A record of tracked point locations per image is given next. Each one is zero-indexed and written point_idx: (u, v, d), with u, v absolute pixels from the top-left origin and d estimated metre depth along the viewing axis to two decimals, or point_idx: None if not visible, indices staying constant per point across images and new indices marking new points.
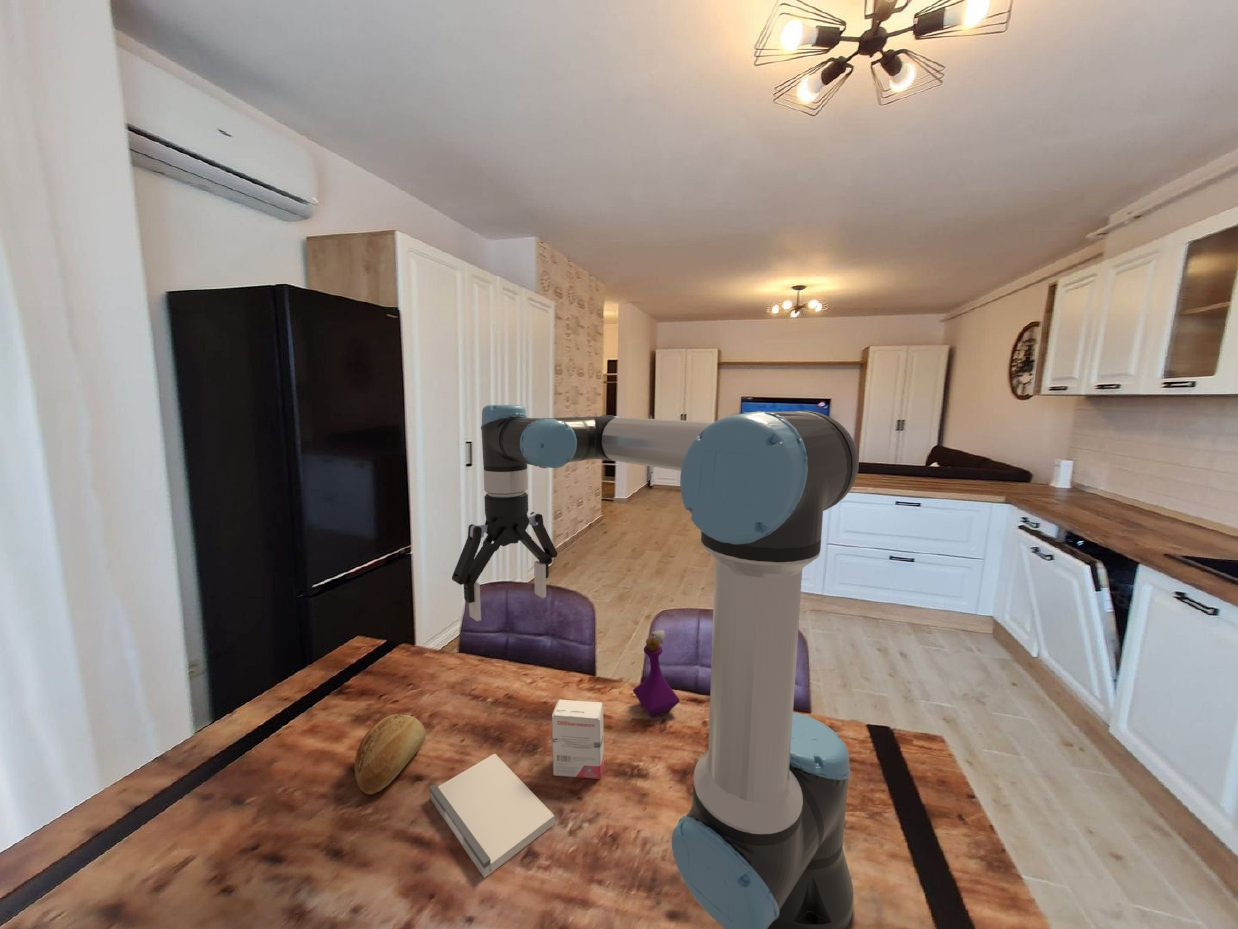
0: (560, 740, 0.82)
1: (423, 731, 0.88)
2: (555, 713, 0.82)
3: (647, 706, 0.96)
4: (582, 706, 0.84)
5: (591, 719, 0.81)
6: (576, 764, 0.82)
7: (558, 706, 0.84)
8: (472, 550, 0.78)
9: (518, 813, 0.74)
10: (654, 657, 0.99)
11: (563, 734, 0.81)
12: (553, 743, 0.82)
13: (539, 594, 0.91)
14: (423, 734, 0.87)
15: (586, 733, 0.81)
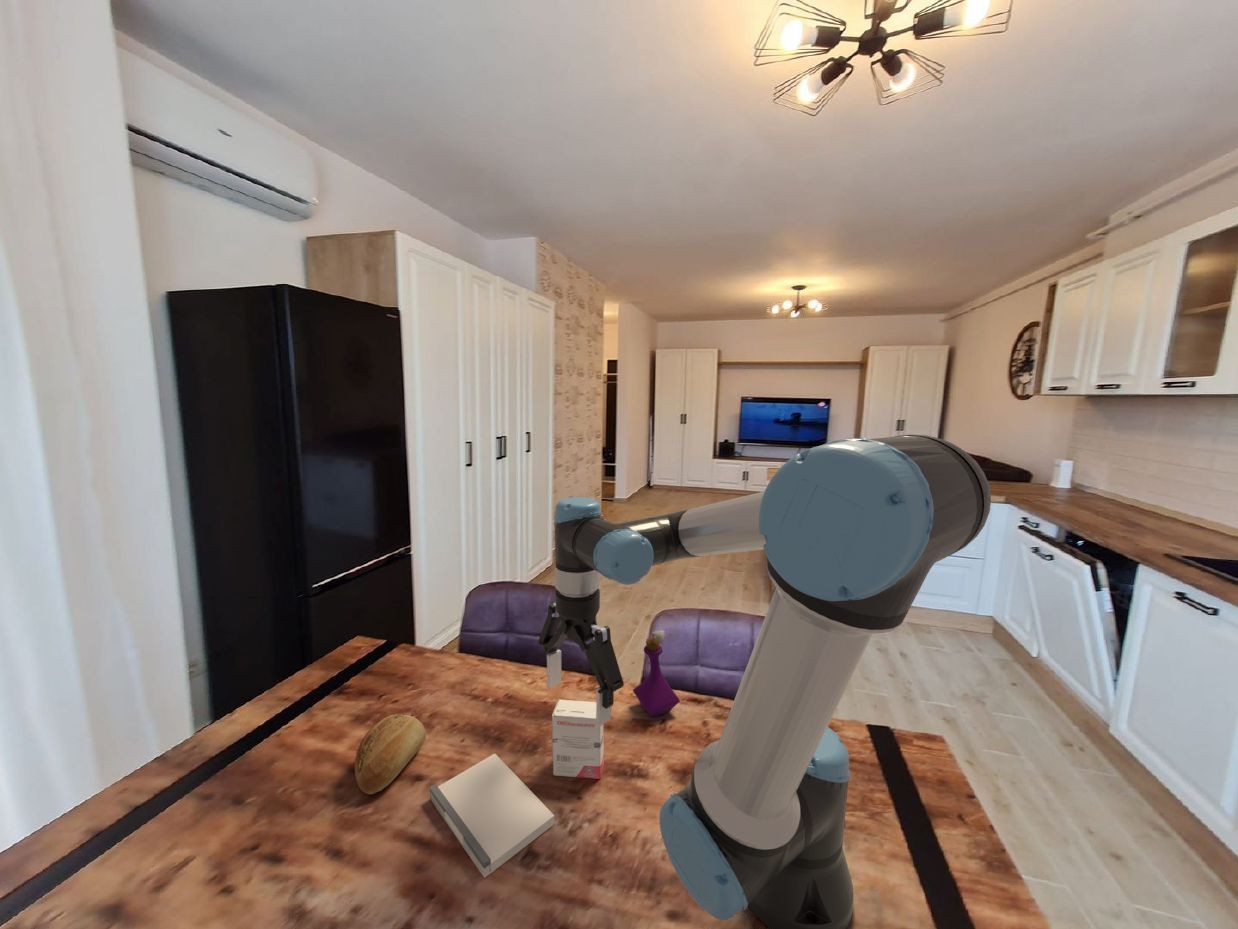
0: (560, 740, 0.82)
1: (423, 731, 0.88)
2: (555, 713, 0.82)
3: (647, 706, 0.96)
4: (582, 706, 0.84)
5: (591, 719, 0.81)
6: (576, 764, 0.82)
7: (558, 706, 0.84)
8: (546, 622, 0.86)
9: (518, 813, 0.74)
10: (654, 657, 0.99)
11: (563, 734, 0.81)
12: (553, 743, 0.82)
13: None
14: (423, 734, 0.87)
15: (586, 733, 0.81)
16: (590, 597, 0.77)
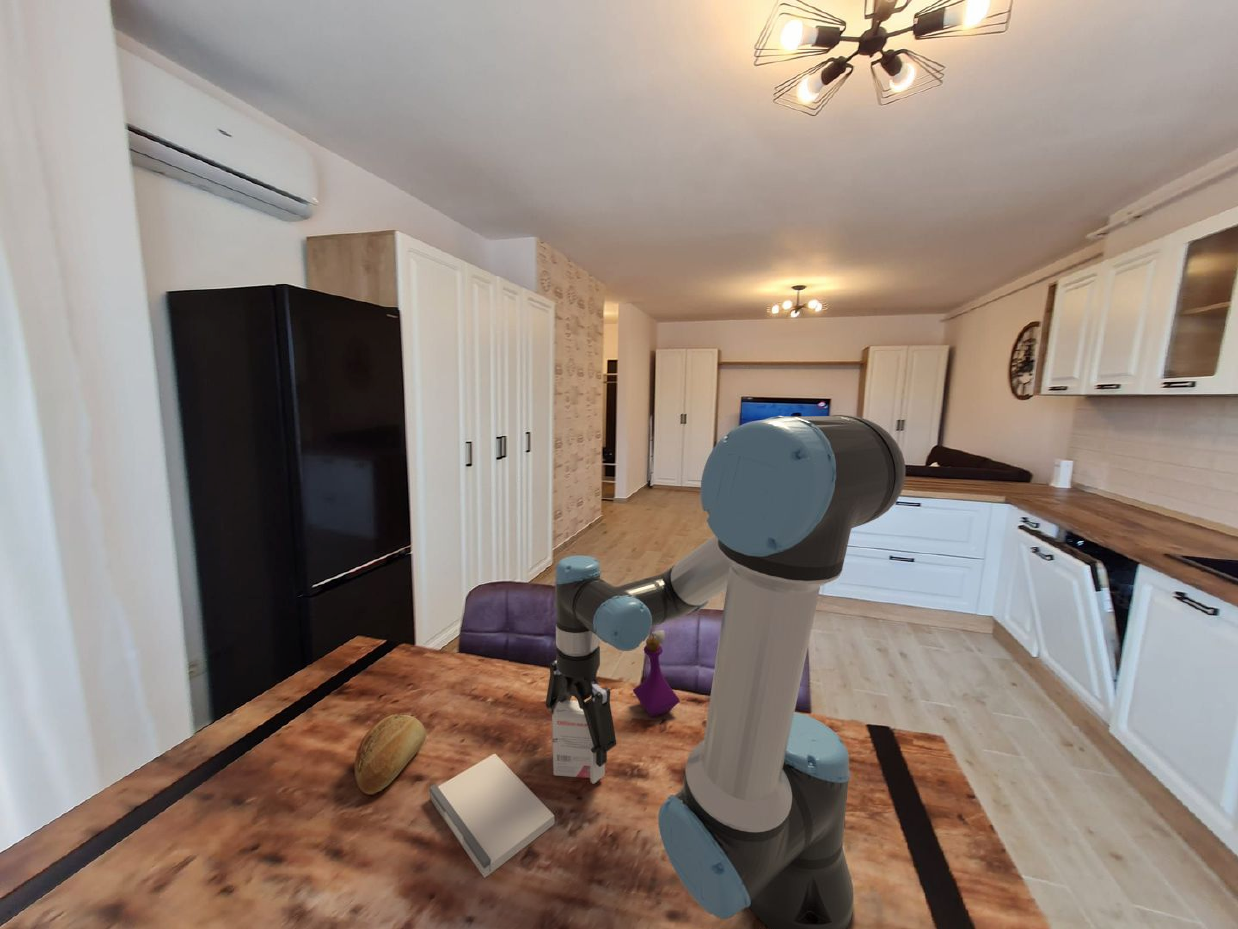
0: (560, 740, 0.82)
1: (423, 731, 0.88)
2: (555, 713, 0.82)
3: (647, 706, 0.96)
4: None
5: None
6: (576, 764, 0.82)
7: (558, 706, 0.84)
8: (549, 682, 0.87)
9: (518, 813, 0.74)
10: (654, 657, 0.99)
11: (563, 734, 0.81)
12: (553, 743, 0.82)
13: None
14: (423, 734, 0.87)
15: (586, 733, 0.81)
16: (590, 655, 0.79)
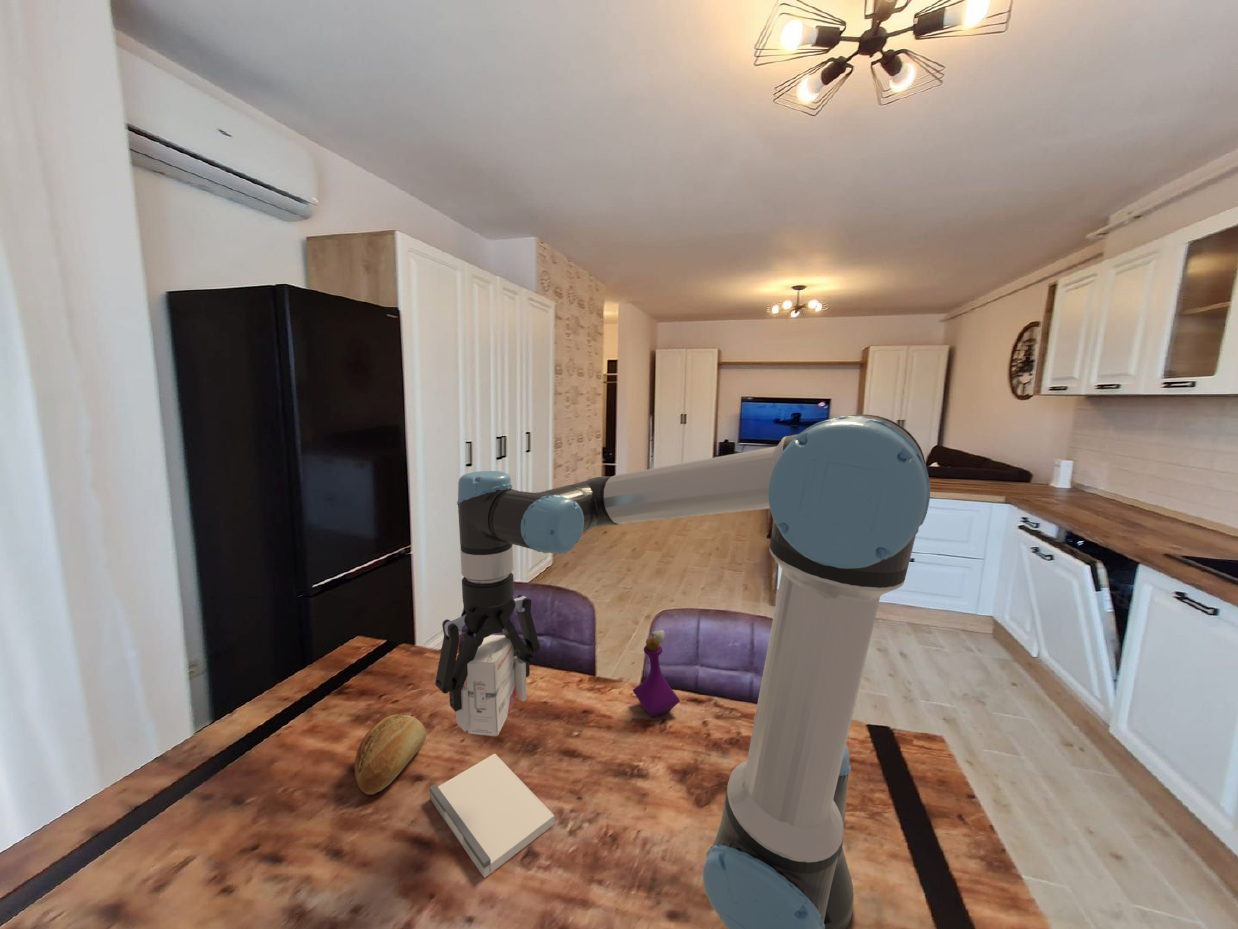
0: (500, 687, 0.70)
1: (423, 731, 0.88)
2: (493, 661, 0.69)
3: (647, 706, 0.96)
4: (487, 645, 0.73)
5: (510, 640, 0.75)
6: (507, 702, 0.74)
7: (479, 660, 0.69)
8: (451, 652, 0.67)
9: (518, 813, 0.74)
10: (654, 657, 0.99)
11: (501, 677, 0.71)
12: (495, 697, 0.69)
13: (518, 696, 0.77)
14: (423, 734, 0.87)
15: (509, 659, 0.74)
16: None
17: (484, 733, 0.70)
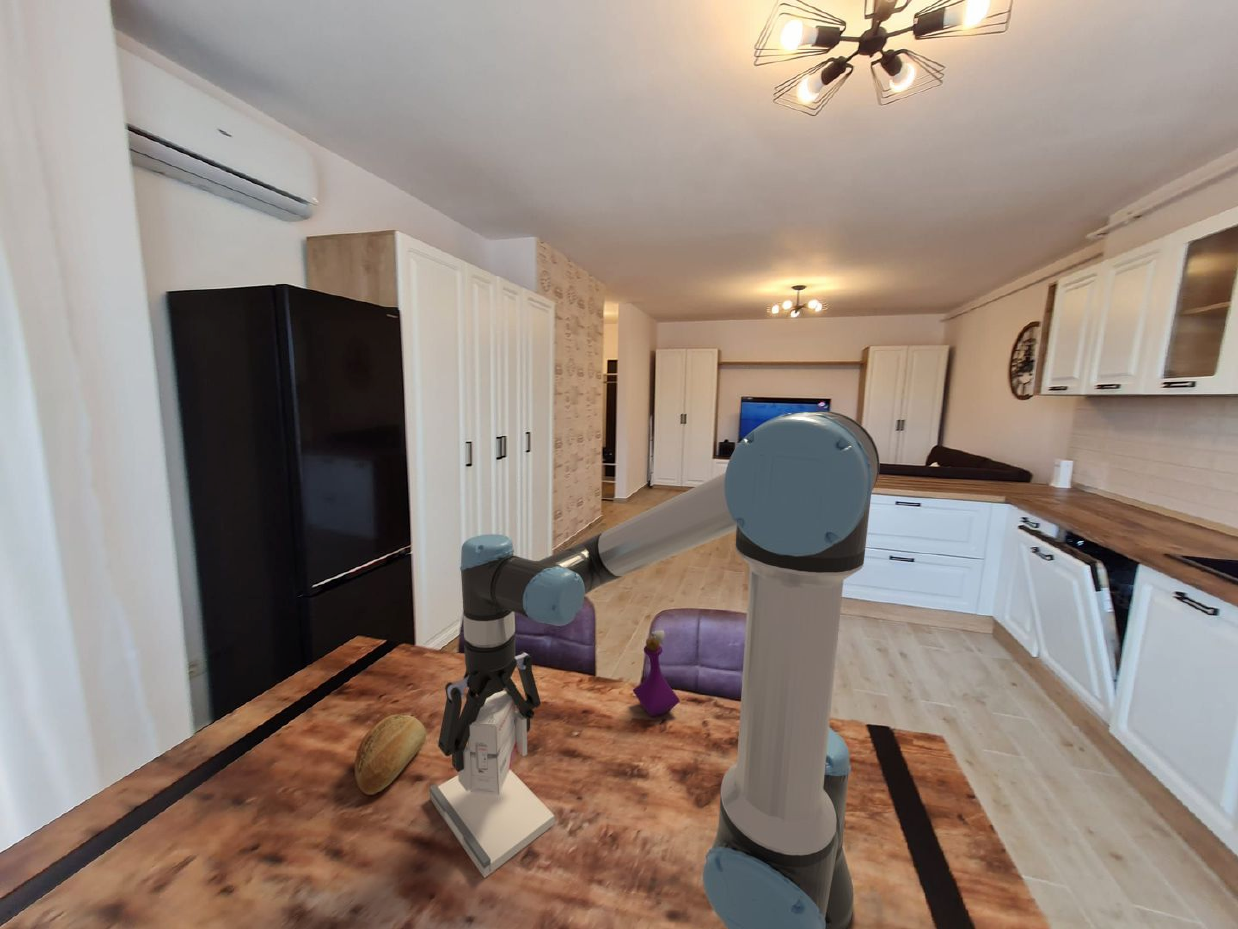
0: (501, 747, 0.72)
1: (423, 731, 0.88)
2: (494, 723, 0.70)
3: (647, 706, 0.96)
4: (489, 703, 0.75)
5: (511, 697, 0.76)
6: (508, 758, 0.75)
7: (481, 722, 0.70)
8: (453, 716, 0.68)
9: (518, 813, 0.74)
10: (654, 657, 0.99)
11: (502, 737, 0.72)
12: (497, 758, 0.71)
13: (519, 750, 0.78)
14: (423, 734, 0.87)
15: (511, 716, 0.76)
16: None
17: (486, 792, 0.71)
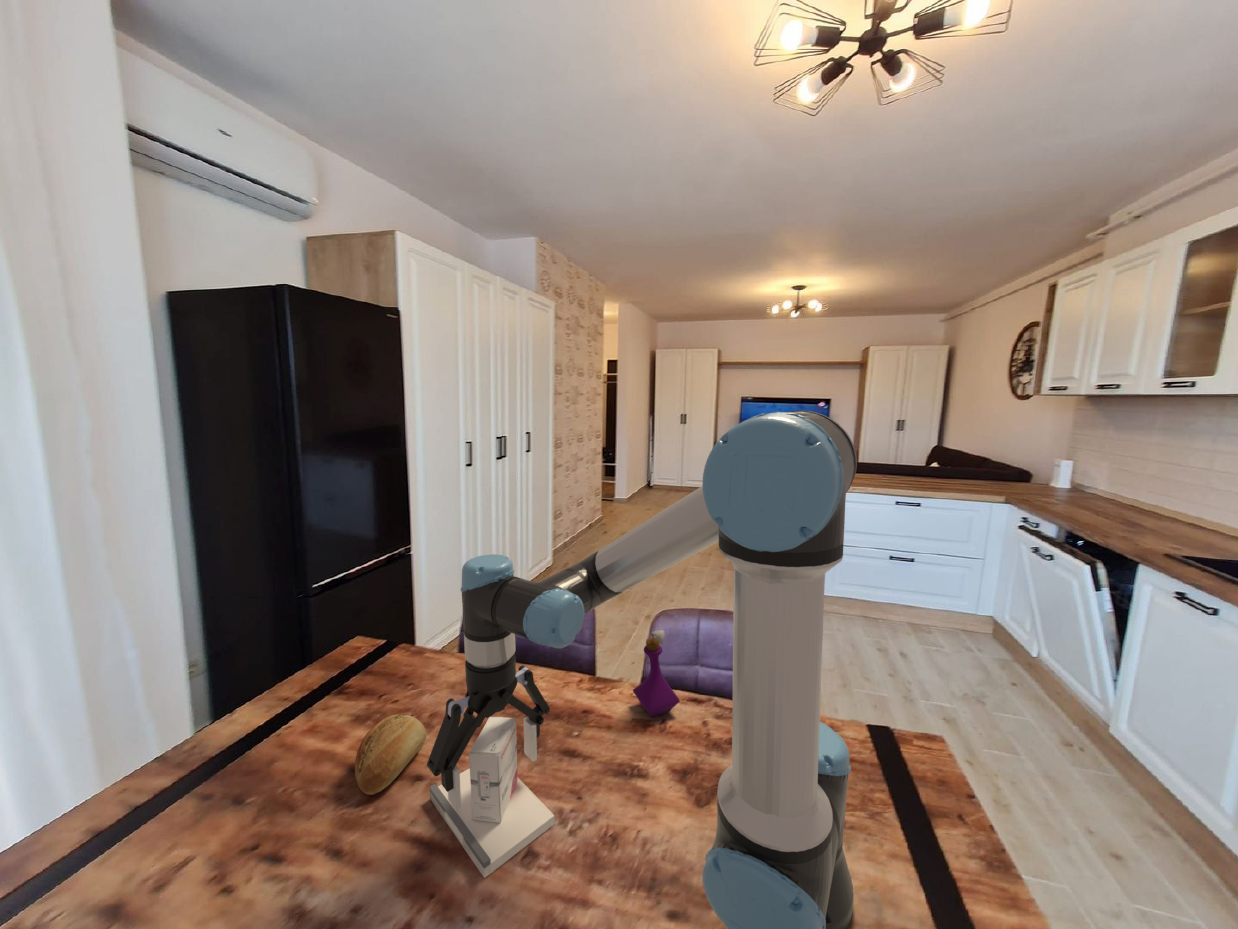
0: (503, 774, 0.72)
1: (423, 732, 0.88)
2: (496, 751, 0.71)
3: (647, 706, 0.96)
4: (491, 730, 0.75)
5: (513, 724, 0.77)
6: (510, 785, 0.76)
7: (483, 750, 0.71)
8: (449, 734, 0.68)
9: (518, 813, 0.74)
10: (654, 657, 0.99)
11: (504, 764, 0.73)
12: (499, 786, 0.71)
13: (529, 756, 0.80)
14: (423, 735, 0.87)
15: (512, 743, 0.76)
16: None
17: (488, 820, 0.72)
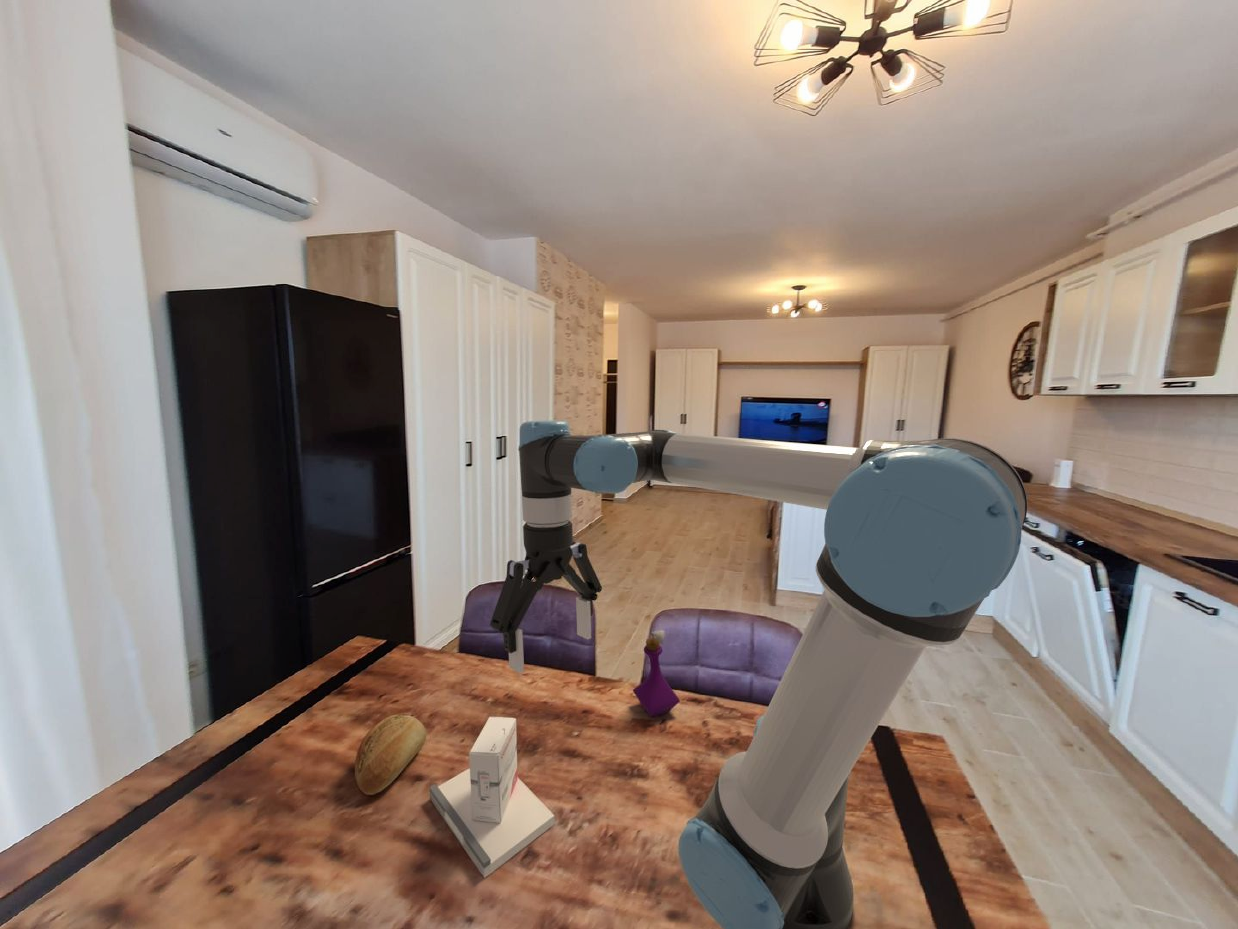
0: (503, 774, 0.72)
1: (424, 732, 0.88)
2: (496, 751, 0.71)
3: (647, 706, 0.96)
4: (491, 730, 0.75)
5: (513, 724, 0.77)
6: (510, 785, 0.76)
7: (483, 750, 0.71)
8: (513, 591, 0.67)
9: (518, 813, 0.74)
10: (654, 657, 0.99)
11: (504, 764, 0.73)
12: (499, 786, 0.71)
13: (583, 635, 0.79)
14: (424, 735, 0.87)
15: (512, 743, 0.76)
16: None
17: (488, 820, 0.72)
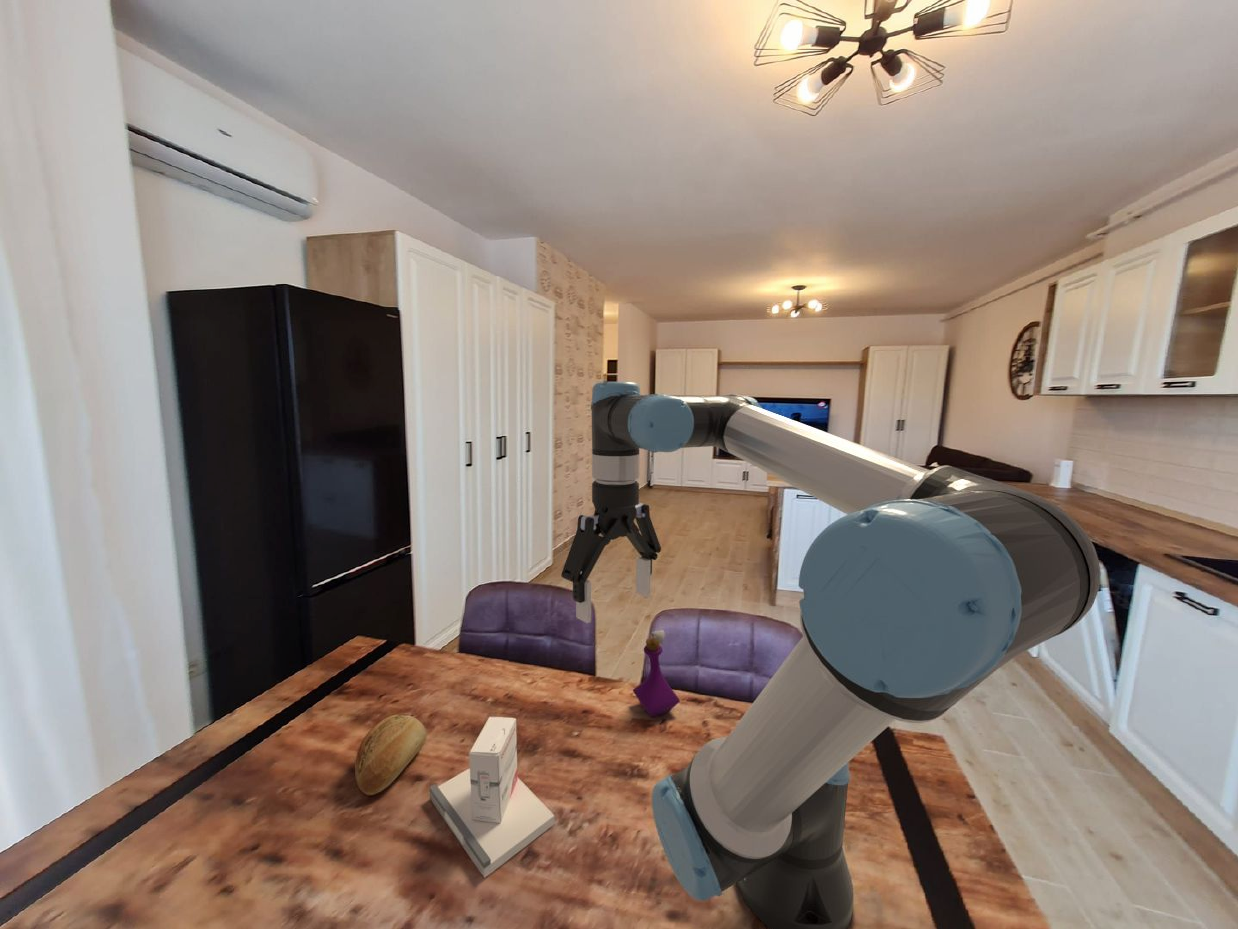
0: (503, 774, 0.72)
1: (424, 732, 0.87)
2: (496, 751, 0.71)
3: (647, 706, 0.96)
4: (491, 730, 0.75)
5: (513, 724, 0.77)
6: (510, 785, 0.76)
7: (483, 750, 0.71)
8: (584, 543, 0.70)
9: (518, 813, 0.74)
10: (654, 657, 0.99)
11: (504, 764, 0.73)
12: (499, 786, 0.71)
13: (642, 593, 0.82)
14: (424, 735, 0.87)
15: (512, 743, 0.76)
16: None
17: (488, 820, 0.72)
